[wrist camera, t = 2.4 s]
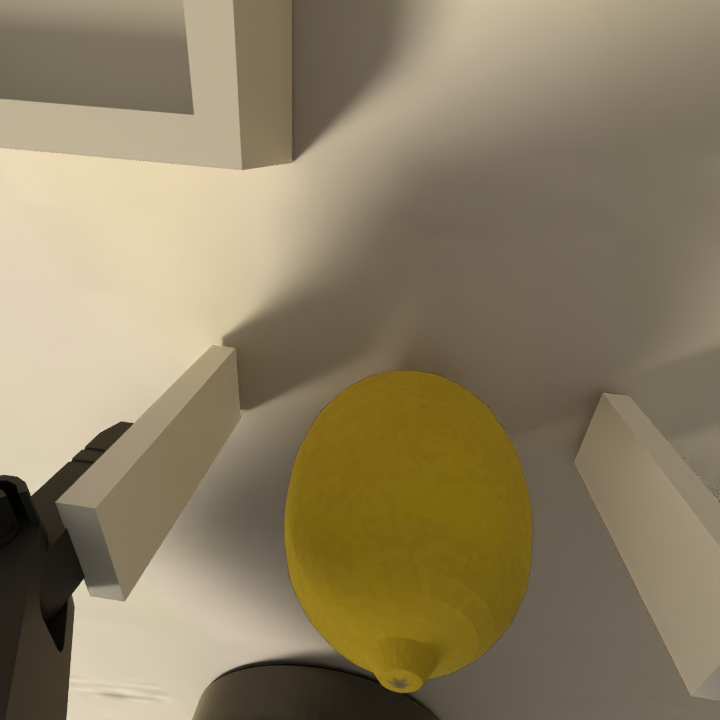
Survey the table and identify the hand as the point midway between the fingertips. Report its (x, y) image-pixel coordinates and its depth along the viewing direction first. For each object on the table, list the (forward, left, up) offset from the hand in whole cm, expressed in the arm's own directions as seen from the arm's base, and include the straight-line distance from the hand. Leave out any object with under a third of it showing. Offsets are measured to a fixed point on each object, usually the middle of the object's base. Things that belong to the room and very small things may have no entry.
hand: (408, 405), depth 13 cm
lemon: (0, 0, 0) cm, 0 cm away
